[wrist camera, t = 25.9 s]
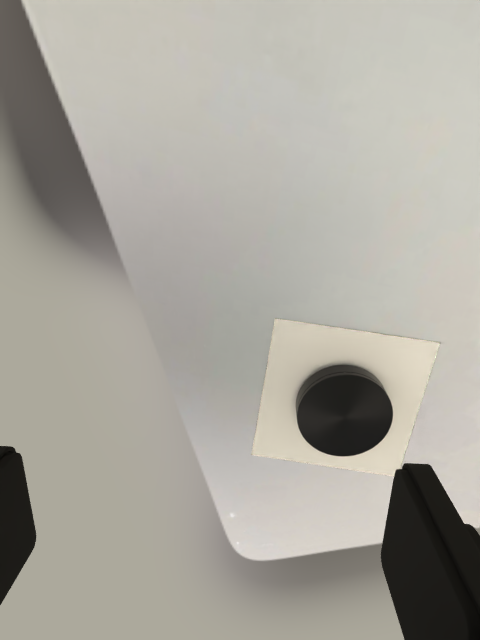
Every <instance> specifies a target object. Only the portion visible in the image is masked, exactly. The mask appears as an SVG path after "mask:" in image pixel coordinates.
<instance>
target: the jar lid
mask: <svg viewBox="0 0 480 640" xmlns="http://www.w3.org/2000/svg"><path fill="white" fill-rule="evenodd" d="M296 416H297V424H298V428H299V430H300V433H301V434H302V436H303V438H304V439H305V440H306V441H307V442H308V443H309V444H310V445H311V446H312V447H313V448H315V449H316V450H318V451H320V452H322V453H325V454H328V455H332V456H341V457H345V456H354V455H358V454H361V453H364V452H366V451H368V450H370V449H372V448H374V447H375V446H376V445H378V444H379V443H380V442H381V441H382V440H383V439H384V438H385V436H386V435H387V433H388V431H389V429H390V427H391V424H392V420H393V408H392V404H391V401H390V399H389V397H388V395H387V393H386V391H385V389H384V387H383V385H382V384H381V382H380V381H379V380H378V379H377V378H376V376H374V375H373V374H372V373H370V372H369V371H367V370H365V369H363V368H360V367H357V366H352V365H334V366H329V367H326V368H323V369H321V370H319V371H317V372H316V373H314V374H313V375H311V376H310V377H309V378H308V379H307V380H306V381H305V382H304V384H303V385H302V386H301V388H300V390H299V392H298V395H297V398H296Z"/></svg>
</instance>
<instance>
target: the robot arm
mask: <svg viewBox="0 0 480 640" xmlns="http://www.w3.org/2000/svg"><path fill="white" fill-rule="evenodd" d="M35 542H36V530H35V525H34V520H33V514H32V509H31V504H30V498H29V493H28V488H27V482H26V477H25V471H24V466H23V461H22V456H21V455H20V453H16V451H15V449H14V448H13V447H8V446H0V605H1V603H2V601H3V600H4V598H5V596H6V595H7V593H8V591H9V590H10V588H11V586H12V584H13V583H14V581H15V579H16V578H17V576H18V574H19V573H20V571H21V569H22V568H23V566H24V564H25V562H26V561H27V559H28V557H29V556H30V554H31V552H32V550H33V548H34V546H35ZM381 562H382V567H383V571H384V574H385V577H386V581H387V584H388V587H389V590H390V593H391V597H392V600H393V603H394V606H395V610H396V613H397V616H398V620H399V623H400V626H401V629H402V633H403V636H404V639H405V640H480V536H479V534H478V532H477V531H476V530H475V528H474V527H473V526H471V525H470V524H464V523H463V521H462V519H461V517H460V516H459V514H458V512H457V510H456V509H455V507H454V505H453V503H452V502H451V500H450V498H449V496H448V495H447V493H446V491H445V489H444V488H443V486H442V484H441V482H440V481H439V479H438V477H437V475H436V474H435V472H434V470H433V469H432V467H431V466H430V465H428V464H411V463H405V464H404V465H403V467H402V469H396V471H395V474H394V480H393V486H392V492H391V497H390V503H389V509H388V515H387V521H386V526H385V532H384V538H383V544H382V550H381Z"/></svg>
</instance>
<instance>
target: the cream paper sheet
mask: <svg viewBox="0 0 480 640" xmlns="http://www.w3.org/2000/svg"><path fill="white" fill-rule="evenodd" d="M439 346H440V343H439V342H432V341H425V340H419V339H412V338H405V337H398V336H392V335H385V334H378V333H371V332H365V331H358V330H351V329H344V328H338V327H331V326H324V325H317V324H311V323H304V322H297V321H290V320H284V319H277V318H275V321H274V327H273V333H272V339H271V344H270V350H269V356H268V362H267V368H266V373H265V379H264V385H263V391H262V396H261V402H260V408H259V414H258V420H257V425H256V431H255V437H254V443H253V448H252V454H251V455H255V456H262V457H269V458H275V459H282V460H288V461H295V462H301V463H308V464H315V465H321V466H328V467H334V468H341V469H347V470H354V471H360V472H367V473H374V474H380V475H387V476H393V477H394V474H395V471H396V469H400V467H401V464H402V461H403V458H404V455H405V451H406V448H407V445H408V442H409V439H410V436H411V433H412V430H413V427H414V424H415V420H416V417H417V414H418V411H419V408H420V405H421V402H422V399H423V396H424V393H425V389H426V386H427V383H428V380H429V377H430V374H431V371H432V368H433V365H434V362H435V359H436V355H437V352H438V349H439ZM334 365H352V366H357V367H360V368H363V369H365V370H367V371H369V372H370V373H372V374H373V375H374V376H376V378H377V379H378V380H379V381H380V382H381V384H382V385H383V387H384V389H385V391H386V393H387V395H388V397H389V399H390V401H391V404H392V408H393V420H392V424H391V427H390V429H389V431H388V433H387V435H386V436H385V438H384V439H383V440H382V441H381V442H380V443H379V444H378V445H376V446H375V447H374V448H372V449H370V450H368V451H366V452H364V453H361V454H358V455H354V456H345V457H341V456H332V455H328V454H325V453H322V452H320V451H318V450H316V449H315V448H313V447H312V446H311V445H310V444H309V443H308V442H307V441H306V440H305V439H304V438H303V436H302V434H301V433H300V430H299V428H298V424H297V416H296V398H297V395H298V392H299V390H300V388H301V386H302V385H303V384H304V382H305V381H306V380H307V379H308V378H309V377H310V376H311V375H313V374H314V373H316V372H317V371H319V370H321V369H323V368H326V367H329V366H334Z"/></svg>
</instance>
